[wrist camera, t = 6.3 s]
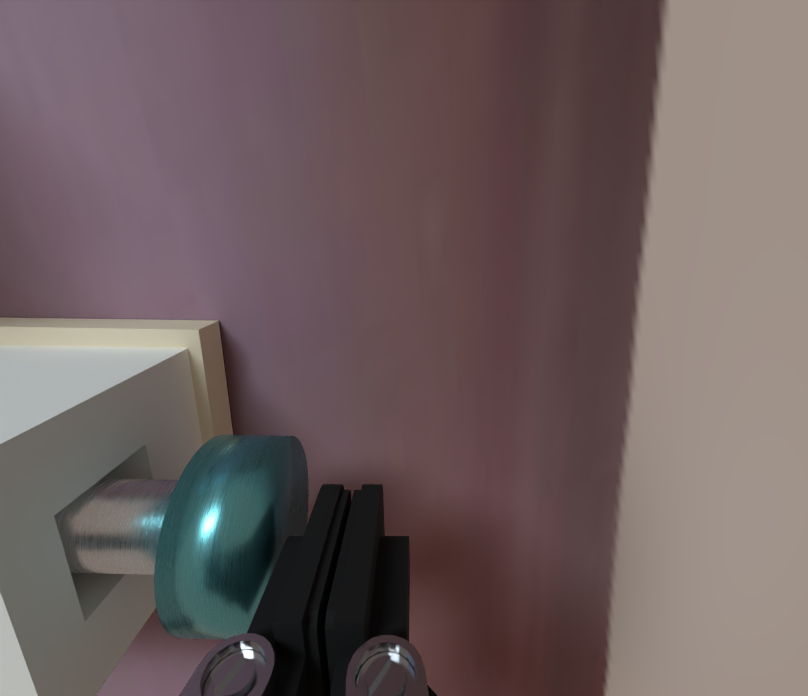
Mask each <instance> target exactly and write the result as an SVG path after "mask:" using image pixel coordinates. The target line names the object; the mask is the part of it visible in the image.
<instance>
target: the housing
mask: <svg viewBox="0 0 808 696" xmlns="http://www.w3.org/2000/svg"><path fill="white" fill-rule="evenodd" d="M218 435H233V429H232V422H231V414H230V406H229V398H228V390H227V383H226V375H225V367H224V359H223V351H222V343H221V336H220V328H219V321H208V320H139V319H71V318H2V317H0V696H96V694H97V693H98V691H99V690H100V688H101V687H102V685H103V684H104V682H105V681H106V680H107V678H108V677H109V675H110V674H111V672H112V671H113V669H114V668H115V666H116V665H117V664H118V662H119V661H120V659H121V658H122V656H123V655H124V653H125V652H126V650H127V649H128V648H129V646H130V645H131V643H132V642H133V640H134V639H135V637H136V636H137V634H138V633H139V632H140V630H141V629H142V627H143V626H144V624H145V623H146V621H147V620H148V619H149V617H150V616H151V614H152V613H153V611H154V610H155V608H156V602H155V593H154V575H138V574H103V573H71V572H70V569H69V565H68V562H67V559H66V555H65V552H64V548H63V545H62V541H61V538H60V535H59V531H58V528H57V524H56V521H55V517H54V516H55V515H56V514H57V513H58V512H60V511H61V510H62V509H63V508H65V507H66V506H67V505H69V504H70V503H71V502H72V501H74V500H75V499H76V498H77V497H79V496H80V495H81V494H82V493H84V492H85V491H86V490H88V489H89V488H90V487H91V486H93V485H94V484H95V483H96V482H98V481H99V480H100V479H102V478H112V479H155V480H179V478H180V476H181V474H182V472H183V471H184V469H185V467H186V466H187V464H188V462H189V461H190V460H191V458H192V457H193V455H194V454H195V453H196V452H197V451H198V450H199V448H200V447H201V446H202V445H204V444H205V443H206V442H207V441H208V440H210V439H212V438H213V437H216V436H218Z"/></svg>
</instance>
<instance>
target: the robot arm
mask: <svg viewBox="0 0 808 696" xmlns="http://www.w3.org/2000/svg"><path fill="white" fill-rule="evenodd" d="M409 594H410V562H409V536H385V534H384V507H383V486H382V485H373V484H363V485H362V488H361V490H355V491H354V494H353V498H352V503H351V492H350V490H344V487H343V485H335V484H323V485H322V487H321V489H320V492H319V494H318V497H317V500H316V503H315V505H314V508H313V511H312V513H311V516H310V519H309V522H308V524H307V527H306V530H305V532H304V535H303V536H289V537H288V538H287V539H286V541H285V543H284V545H283V548H282V550H281V553H280V555H279V557H278V560H277V562H276V564H275V567H274V569H273V572H272V574H271V576H270V579H269V581H268V583H267V586H266V588H265V591H264V593H263V595H262V598H261V600H260V603H259V605H258V607H257V610H256V612H255V614H254V617H253V619H252V622H251V624H250V626H249V629H248V631H247V633H243V634H240V635H236V636H232V637H230V638H228V639H227V640H225V641H223V642H221V643H219V644H218V645H217V646H216V647H215V648H213V649H212V650H211V651H210V652H209V653H208V654H207V655H206V656H205V658H204V659H203V660H202V661H201V663H200V664H199V665H198V667H197V668H196V670H195V672H194V673H193V675H192V676H191V678H190V679H189V681H188V682H187V684H186V686H185V687H184V689H183V690H182V692H181V693H180V695H179V696H437V695H436V694H435V693H434V692H433V691H432V689H431V688H430V687H429V686H428V685H427V681H426V675H425V669H424V665H423V662H422V659H421V656H420V654H419V653H418V651H417V650H416V648H415V647H414V646H413V645H412V644H411V643H409Z"/></svg>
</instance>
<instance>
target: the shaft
mask: <svg viewBox="0 0 808 696" xmlns="http://www.w3.org/2000/svg"><path fill="white" fill-rule="evenodd" d="M307 514H308V470H307V462H306V457H305V452H304V449H303V446H302V444H301V442H300V441H299V439H297V438H296V437H294V436H267V435H218V436H216V437H213V438H212V439H210V440H208V441H207V442H206V443H205V444H204V445H202V446H201V447H200V448H199V450H198V451H197V452H196V453H195V454H194V455H193V457H192V458H191V460H190V461H189V462H188V464H187V466H186V467H185V469H184V471H183V472H182V474H181V476H180V478H179V480H155V479H112V478H102V479H100V480H99V481H98V482H96V483H95V484H94V485H93V486H91V487H90V488H89V489H88V490H86V491H85V492H84V493H82V494H81V495H80V496H79V497H77V498H76V499H75V500H74V501H72V502H71V503H70V504H69V505H67V506H66V507H65V508H63V509H62V510H61V511H60V512H58V513H57V514H56V515H55V516H54V517H55V521H56V524H57V528H58V531H59V535H60V538H61V541H62V545H63V548H64V552H65V555H66V559H67V562H68V565H69V569H70V572H71V573H103V574H138V575H154V593H155V602H156V609H157V612H158V616H159V619H160V621H161V623H162V625H163V627H164V629H165V630H166V631H167V632H168V633H169V634H170V635H172V636H173V637H177V638H191V639H222V640H227V639H228V638H230V637H232V636H236V635H240V634H243V633H247V631H248V629H249V626H250V624H251V622H252V619H253V617H254V614H255V612H256V610H257V607H258V605H259V603H260V600H261V598H262V595H263V593H264V591H265V588H266V586H267V583H268V581H269V579H270V576H271V574H272V572H273V569H274V567H275V564H276V562H277V560H278V557H279V555H280V553H281V550H282V548H283V545H284V543H285V541H286V539H287V538H288V537H289V536H303V535H304V532H305V530H306V525H307Z"/></svg>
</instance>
